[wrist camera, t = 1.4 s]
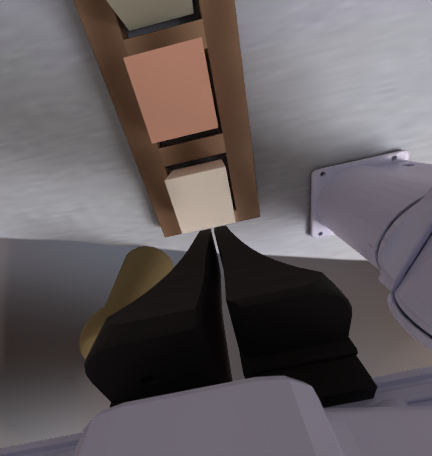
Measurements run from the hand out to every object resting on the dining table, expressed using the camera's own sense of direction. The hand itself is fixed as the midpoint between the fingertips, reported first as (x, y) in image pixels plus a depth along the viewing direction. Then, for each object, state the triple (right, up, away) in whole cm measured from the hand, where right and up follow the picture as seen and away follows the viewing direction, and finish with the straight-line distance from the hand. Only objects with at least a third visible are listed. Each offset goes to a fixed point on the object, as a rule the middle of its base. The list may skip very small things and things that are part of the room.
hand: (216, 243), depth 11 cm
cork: (-8, -4, +13) cm, 16 cm away
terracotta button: (-3, +11, +4) cm, 12 cm away
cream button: (-1, +5, +7) cm, 9 cm away
